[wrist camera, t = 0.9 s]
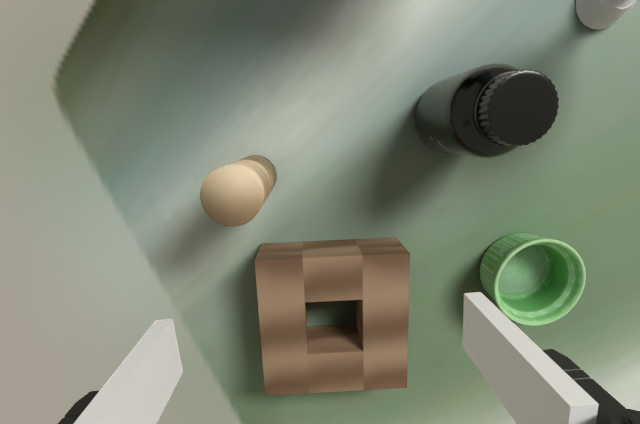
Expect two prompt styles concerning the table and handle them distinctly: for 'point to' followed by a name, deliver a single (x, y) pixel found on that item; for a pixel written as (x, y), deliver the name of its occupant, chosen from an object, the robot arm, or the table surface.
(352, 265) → the socket block
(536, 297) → the ramekin
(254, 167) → the peg
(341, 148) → the table surface
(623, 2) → the chalice
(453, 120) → the supplement bottle
